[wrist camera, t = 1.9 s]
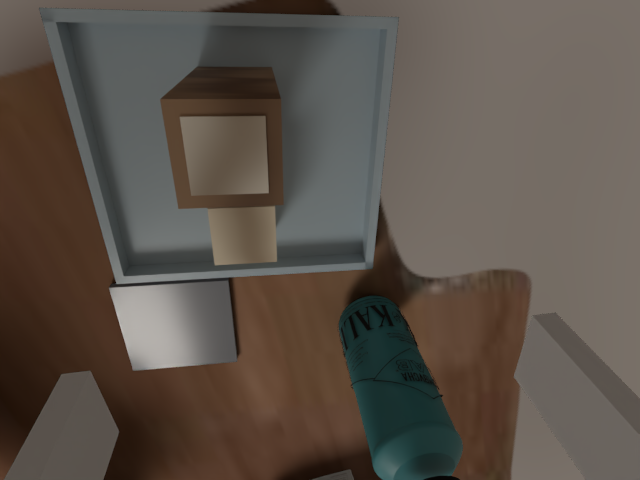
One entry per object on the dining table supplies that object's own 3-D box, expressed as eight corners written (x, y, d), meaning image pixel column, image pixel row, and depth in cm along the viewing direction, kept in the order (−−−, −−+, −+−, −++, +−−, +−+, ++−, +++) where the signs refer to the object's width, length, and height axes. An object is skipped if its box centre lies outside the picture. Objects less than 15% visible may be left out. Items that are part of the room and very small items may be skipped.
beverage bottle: (387, 335, 42) (477, 558, 25) (326, 332, 41) (377, 565, 24) (404, 286, 39) (521, 499, 22) (340, 280, 38) (410, 504, 21)
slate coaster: (134, 366, 39) (133, 370, 39) (111, 283, 34) (108, 287, 34) (237, 357, 41) (237, 361, 40) (228, 276, 36) (228, 280, 35)
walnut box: (206, 140, 29) (178, 209, 19) (197, 66, 27) (159, 99, 16) (274, 139, 30) (283, 205, 19) (271, 67, 27) (281, 99, 17)
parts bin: (123, 270, 34) (116, 284, 32) (54, 8, 24) (38, 7, 23) (367, 256, 37) (372, 268, 35) (390, 16, 27) (398, 16, 26)
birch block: (220, 232, 33) (214, 265, 29) (214, 181, 31) (207, 208, 27) (274, 230, 34) (277, 261, 29) (272, 180, 31) (274, 206, 27)
